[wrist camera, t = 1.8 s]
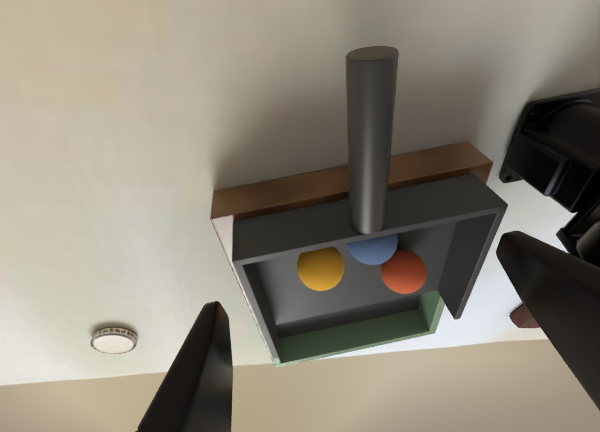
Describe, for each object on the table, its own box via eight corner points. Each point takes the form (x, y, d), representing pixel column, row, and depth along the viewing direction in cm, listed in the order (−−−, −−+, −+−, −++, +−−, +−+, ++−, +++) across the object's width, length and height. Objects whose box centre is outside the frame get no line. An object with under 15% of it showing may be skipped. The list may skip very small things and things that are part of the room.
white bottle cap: (122, 352, 32) (121, 358, 32) (84, 341, 30) (81, 347, 29) (145, 335, 31) (144, 341, 30) (107, 323, 29) (105, 329, 28)
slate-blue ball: (383, 207, 21) (402, 214, 18) (390, 251, 21) (409, 266, 18) (338, 216, 21) (349, 225, 18) (345, 260, 21) (357, 276, 18)
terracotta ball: (410, 252, 24) (423, 240, 21) (424, 292, 23) (440, 284, 20) (371, 260, 24) (379, 249, 21) (383, 300, 23) (394, 294, 20)
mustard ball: (336, 246, 22) (339, 231, 20) (347, 289, 21) (352, 280, 18) (294, 254, 22) (291, 241, 19) (302, 298, 21) (300, 291, 18)
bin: (436, 258, 30) (452, 282, 28) (422, 310, 37) (435, 333, 35) (254, 296, 30) (256, 323, 27) (273, 342, 36) (275, 368, 34)
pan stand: (467, 140, 22) (494, 161, 20) (436, 258, 30) (452, 282, 28) (212, 191, 21) (209, 218, 19) (254, 296, 30) (256, 323, 27)
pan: (439, 285, 28) (460, 319, 25) (270, 321, 27) (273, 360, 25) (522, 8, 14) (589, 20, 11) (176, 72, 13) (161, 99, 11)
